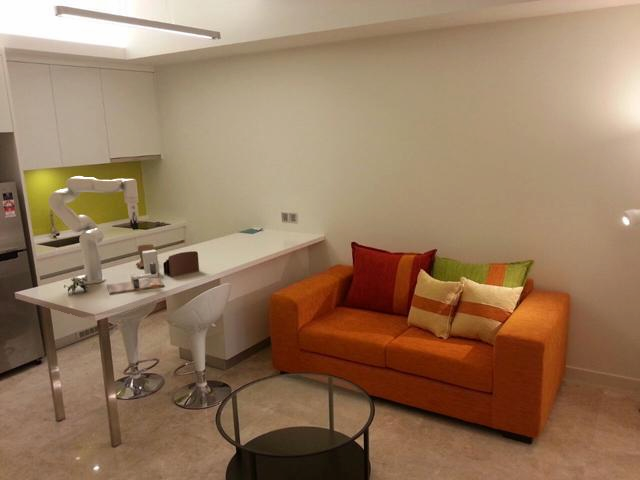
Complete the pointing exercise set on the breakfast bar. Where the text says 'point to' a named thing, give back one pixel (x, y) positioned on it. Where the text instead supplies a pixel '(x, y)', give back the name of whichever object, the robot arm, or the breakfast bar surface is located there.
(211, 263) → the breakfast bar surface
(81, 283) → the passion flower
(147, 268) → the skincare box
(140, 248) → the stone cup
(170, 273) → the letter holder
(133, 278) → the crank handle
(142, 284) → the jamb plate
